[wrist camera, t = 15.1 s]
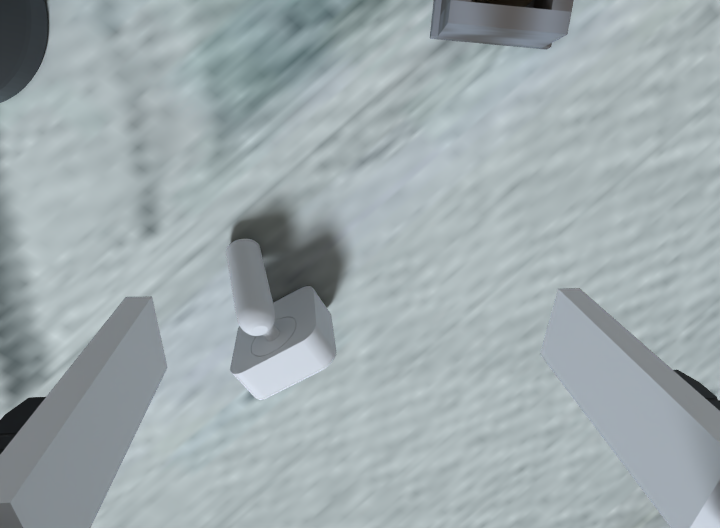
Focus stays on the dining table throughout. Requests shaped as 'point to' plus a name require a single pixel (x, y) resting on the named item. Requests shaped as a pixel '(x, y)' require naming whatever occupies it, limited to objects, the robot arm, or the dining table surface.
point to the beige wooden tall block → (506, 2)
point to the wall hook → (275, 327)
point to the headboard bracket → (501, 22)
